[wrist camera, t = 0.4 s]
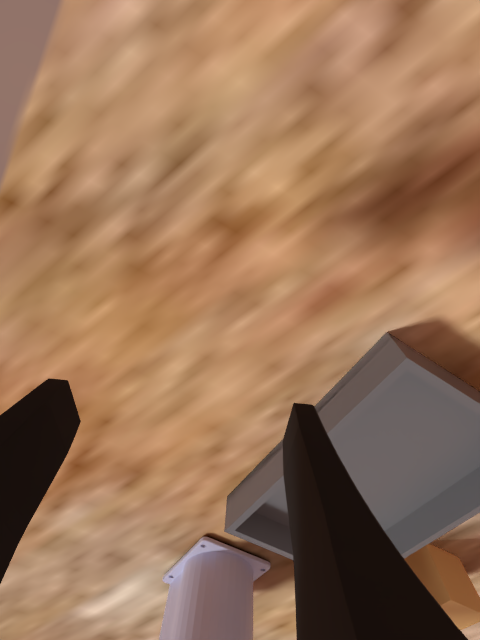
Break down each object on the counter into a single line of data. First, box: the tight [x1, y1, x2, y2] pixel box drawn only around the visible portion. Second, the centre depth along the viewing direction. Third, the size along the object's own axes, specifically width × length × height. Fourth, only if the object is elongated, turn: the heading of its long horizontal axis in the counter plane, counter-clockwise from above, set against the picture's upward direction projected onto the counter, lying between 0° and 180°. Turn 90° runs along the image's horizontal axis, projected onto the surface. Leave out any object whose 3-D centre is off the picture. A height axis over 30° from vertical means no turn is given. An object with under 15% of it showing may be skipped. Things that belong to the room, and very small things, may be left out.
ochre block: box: [405, 544, 480, 630], centre depth 29 cm, size 5×5×5 cm
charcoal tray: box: [224, 333, 480, 560], centre depth 24 cm, size 20×14×3 cm
